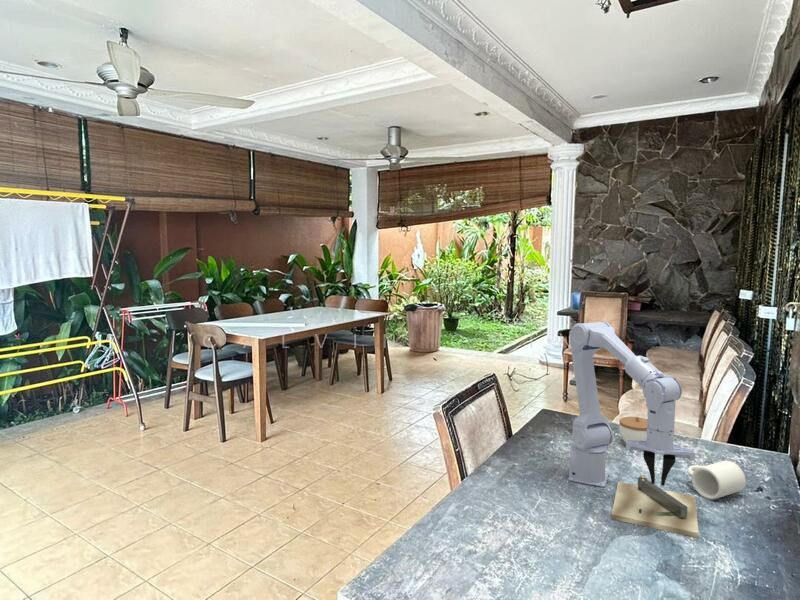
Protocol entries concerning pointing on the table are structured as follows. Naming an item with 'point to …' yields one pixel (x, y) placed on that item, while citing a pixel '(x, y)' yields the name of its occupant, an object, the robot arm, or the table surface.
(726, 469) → the mug
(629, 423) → the lidded jar
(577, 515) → the table surface
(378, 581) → the table surface
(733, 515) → the table surface
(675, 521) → the board
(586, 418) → the robot arm
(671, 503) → the pointer
